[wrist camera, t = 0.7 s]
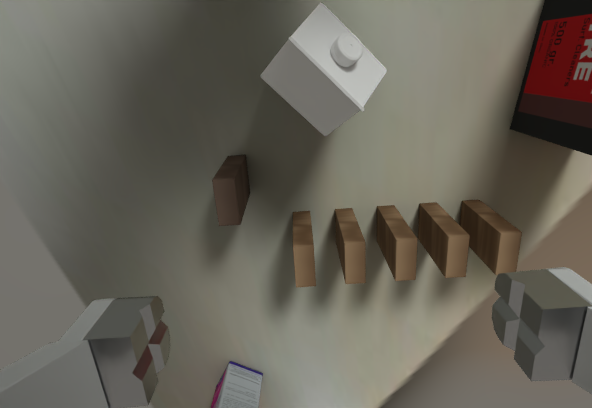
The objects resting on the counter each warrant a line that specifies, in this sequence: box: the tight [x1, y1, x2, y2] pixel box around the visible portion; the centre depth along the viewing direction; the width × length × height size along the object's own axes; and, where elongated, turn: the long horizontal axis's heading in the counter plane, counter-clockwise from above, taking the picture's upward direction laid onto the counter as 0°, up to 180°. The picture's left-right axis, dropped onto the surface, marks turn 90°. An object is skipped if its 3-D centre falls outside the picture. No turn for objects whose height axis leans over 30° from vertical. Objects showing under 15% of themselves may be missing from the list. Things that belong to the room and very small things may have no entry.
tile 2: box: [293, 211, 316, 287], centre depth 47 cm, size 2×5×10 cm, turn 4°
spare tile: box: [212, 155, 250, 226], centre depth 44 cm, size 2×5×10 cm, turn 4°
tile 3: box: [335, 208, 366, 284], centre depth 46 cm, size 2×5×10 cm, turn 4°
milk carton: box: [260, 3, 387, 136], centre depth 35 cm, size 7×7×19 cm
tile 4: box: [377, 205, 417, 281], centre depth 46 cm, size 2×5×10 cm, turn 4°
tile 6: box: [460, 200, 522, 275], centre depth 46 cm, size 2×5×10 cm, turn 4°
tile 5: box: [418, 203, 470, 278], centre depth 46 cm, size 2×5×10 cm, turn 4°
